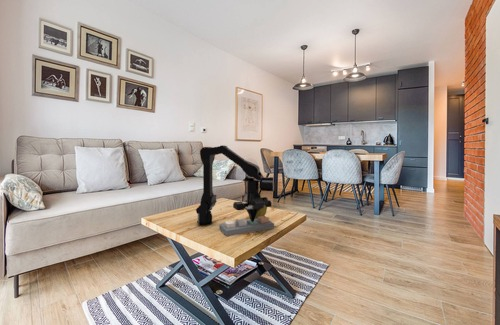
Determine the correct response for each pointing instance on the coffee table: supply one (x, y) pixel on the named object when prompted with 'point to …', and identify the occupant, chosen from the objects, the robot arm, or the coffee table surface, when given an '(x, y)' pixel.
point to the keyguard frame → (246, 228)
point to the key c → (252, 222)
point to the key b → (241, 222)
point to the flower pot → (261, 212)
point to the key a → (229, 224)
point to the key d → (263, 219)
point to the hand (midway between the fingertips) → (252, 221)
